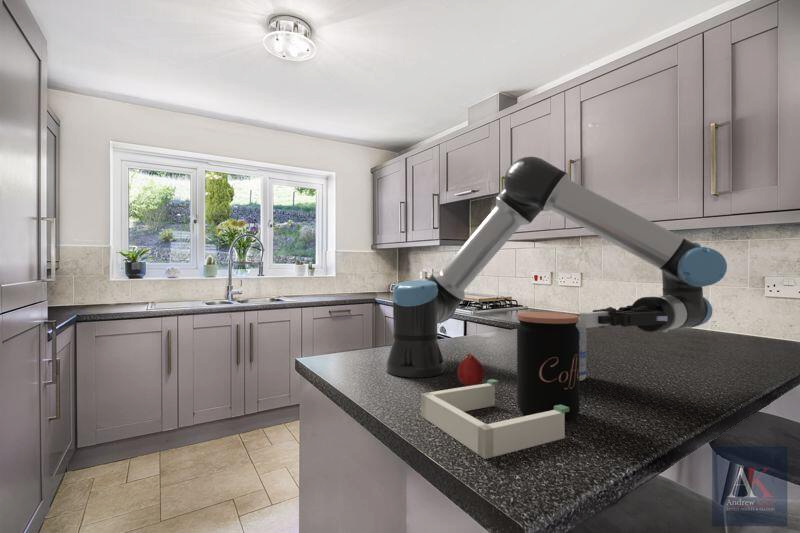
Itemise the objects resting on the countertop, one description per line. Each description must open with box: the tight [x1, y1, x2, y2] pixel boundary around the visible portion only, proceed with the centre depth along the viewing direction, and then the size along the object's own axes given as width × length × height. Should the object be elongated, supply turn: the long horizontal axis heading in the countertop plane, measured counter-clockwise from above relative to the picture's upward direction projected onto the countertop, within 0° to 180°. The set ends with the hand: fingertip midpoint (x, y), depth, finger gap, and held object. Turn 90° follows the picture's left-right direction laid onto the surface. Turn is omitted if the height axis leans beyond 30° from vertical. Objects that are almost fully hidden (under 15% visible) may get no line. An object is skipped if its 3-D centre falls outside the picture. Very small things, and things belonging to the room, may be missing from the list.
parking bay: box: [420, 378, 569, 460], centre depth 66 cm, size 18×16×5 cm
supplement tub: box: [576, 319, 587, 382], centre depth 96 cm, size 10×10×15 cm
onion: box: [456, 352, 485, 387], centre depth 86 cm, size 6×6×8 cm
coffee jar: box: [516, 311, 581, 424], centre depth 72 cm, size 11×11×18 cm
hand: (582, 320), depth 75 cm, fingers closed
